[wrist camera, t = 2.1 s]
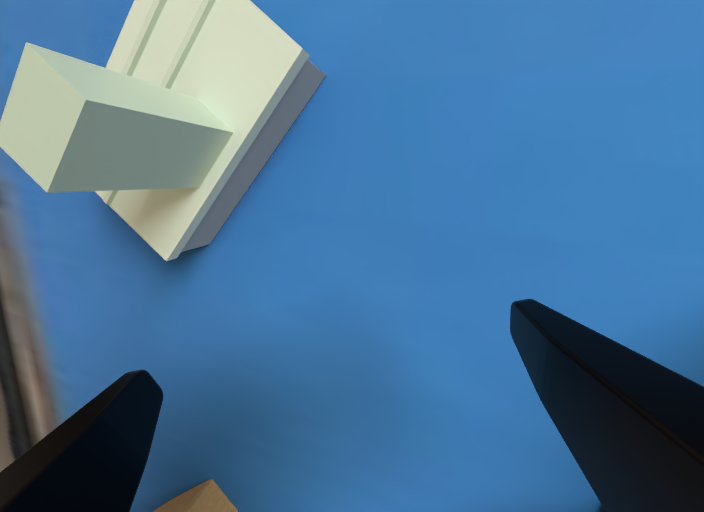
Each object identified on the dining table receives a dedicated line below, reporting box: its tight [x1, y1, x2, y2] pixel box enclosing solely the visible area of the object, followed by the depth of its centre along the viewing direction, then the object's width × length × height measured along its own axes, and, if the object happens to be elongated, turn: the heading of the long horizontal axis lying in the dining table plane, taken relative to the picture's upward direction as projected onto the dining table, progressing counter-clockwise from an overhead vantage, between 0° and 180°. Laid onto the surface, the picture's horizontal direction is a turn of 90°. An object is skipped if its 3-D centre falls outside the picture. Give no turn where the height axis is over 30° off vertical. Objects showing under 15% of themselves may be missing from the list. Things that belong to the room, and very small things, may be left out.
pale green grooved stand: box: [0, 0, 310, 261], centre depth 14 cm, size 8×13×8 cm, turn 139°
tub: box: [181, 59, 326, 252], centre depth 19 cm, size 8×13×3 cm, turn 139°
